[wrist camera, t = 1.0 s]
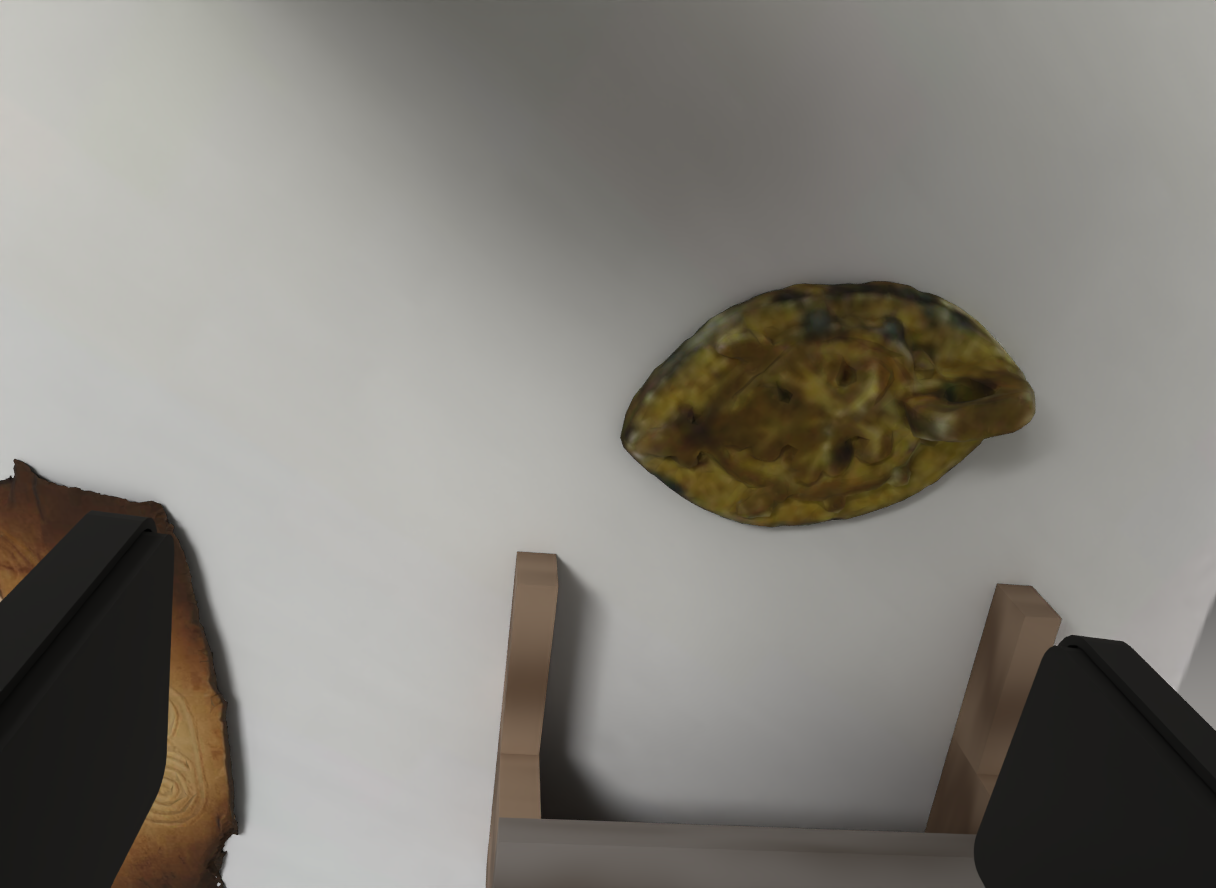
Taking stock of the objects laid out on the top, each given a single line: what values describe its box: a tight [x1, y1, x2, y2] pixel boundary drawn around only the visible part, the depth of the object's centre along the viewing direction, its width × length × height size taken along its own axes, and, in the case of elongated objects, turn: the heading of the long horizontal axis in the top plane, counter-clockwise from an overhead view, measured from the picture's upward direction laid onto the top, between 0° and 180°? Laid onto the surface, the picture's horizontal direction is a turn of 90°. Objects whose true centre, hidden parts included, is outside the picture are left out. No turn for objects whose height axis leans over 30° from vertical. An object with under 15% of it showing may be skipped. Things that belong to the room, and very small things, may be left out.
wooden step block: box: [486, 552, 1062, 888], centre depth 40 cm, size 16×21×7 cm
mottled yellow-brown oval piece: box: [620, 281, 1035, 527], centre depth 37 cm, size 9×5×15 cm
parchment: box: [0, 459, 238, 888], centre depth 41 cm, size 25×10×1 cm, turn 177°
